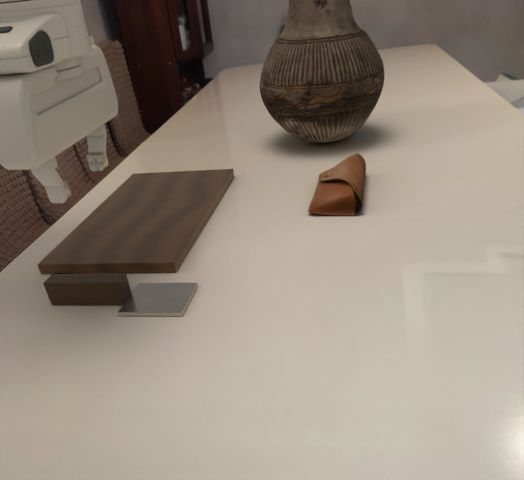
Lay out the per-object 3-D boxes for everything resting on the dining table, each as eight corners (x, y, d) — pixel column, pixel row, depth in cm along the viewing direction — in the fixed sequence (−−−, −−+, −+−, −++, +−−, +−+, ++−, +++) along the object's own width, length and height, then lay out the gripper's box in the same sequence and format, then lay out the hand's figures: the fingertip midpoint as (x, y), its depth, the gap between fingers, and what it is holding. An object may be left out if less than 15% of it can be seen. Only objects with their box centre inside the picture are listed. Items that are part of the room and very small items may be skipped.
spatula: (42, 315, 65) (33, 292, 63) (68, 286, 71) (60, 264, 69) (182, 316, 62) (176, 292, 60) (198, 285, 67) (193, 263, 65)
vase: (286, 125, 125) (274, -31, 108) (391, 123, 117) (398, -45, 99) (248, 159, 107) (227, -21, 90) (370, 160, 99) (373, -38, 81)
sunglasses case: (316, 173, 95) (335, 138, 90) (351, 191, 95) (371, 158, 91) (306, 214, 80) (327, 175, 76) (346, 235, 81) (370, 198, 77)
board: (40, 273, 74) (37, 264, 74) (134, 181, 103) (132, 173, 102) (176, 272, 71) (174, 262, 70) (234, 176, 99) (233, 168, 99)
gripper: (60, 25, 58) (95, 154, 66) (-61, 57, 42) (4, 222, 50) (114, 20, 57) (142, 152, 65) (11, 52, 41) (66, 222, 49)
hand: (82, 184), depth 57 cm, fingers open, 8 cm apart
